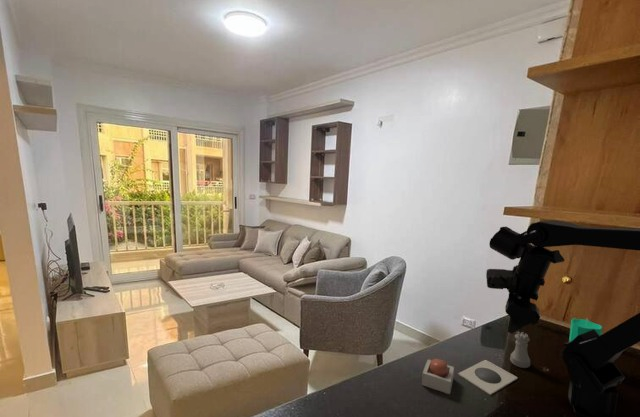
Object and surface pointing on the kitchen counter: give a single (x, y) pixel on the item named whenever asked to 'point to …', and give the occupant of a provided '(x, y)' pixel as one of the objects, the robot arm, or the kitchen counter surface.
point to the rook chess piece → (521, 351)
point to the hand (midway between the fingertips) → (509, 321)
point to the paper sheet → (487, 377)
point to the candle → (582, 327)
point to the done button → (438, 368)
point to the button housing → (438, 379)
